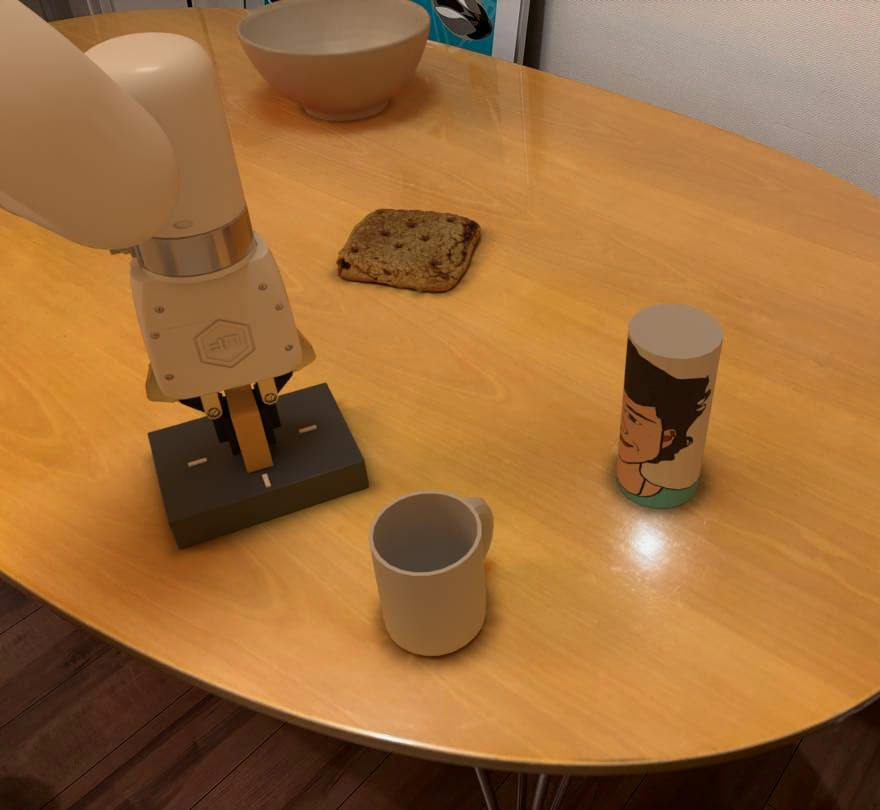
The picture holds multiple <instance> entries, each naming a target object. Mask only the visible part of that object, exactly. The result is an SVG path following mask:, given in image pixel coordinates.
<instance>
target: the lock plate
mask: <svg viewBox="0 0 880 810" xmlns="http://www.w3.org/2000/svg"><path fill="white" fill-rule="evenodd" d="M275 403H276V407H277V411H278V415H279V419H280V422H281V427H279V428H275V429H273V431H274V435H275V438H276V442H277V444H274V445H271V446H270V444H268V447H269V450H270V454H271V458H272V461H273V466H271V467H268V468H264V469H261V470H257V471H254V472H250V473H248V472H247V469H246V465H245V462H244V459H243V455H242V452H239V453H240V454H238V455H235V456H233V454H232V450H231V447H230V444H229V441H227V442H223V443H219V440H218V437H217V434H216V431H215V427H214V424H213V421H212V419H209V418H208V417H207V416H206V415H205V416H202V417H199V418H195V419H192V420H188V421H184V422H180V423H177V424H174V425H171V426H167V427H163V428H160V429H156V430H152V431H149V432H147V438H148V443H149V447H150V451H151V455H152V460H153V464H154V469H155V473H156V477H157V481H158V485H159V490H160V495H161V498H162V503H163V508H164V511H165V516H166V520H167V524H168V527H169V529H170V532H171V534H172V536H173V540H174V541H175V544H176V546H177V549H178V550H181V549H185V548H188V547H190V546H193V545H196V544H200V543H203V542H206V541H209V540H212V539H215V538H218V537H221V536H224V535H227V534H230V533H233V532H236V531H239V530H243V529H245V528H248V527H252V526H254V525H257V524H261V523H264V522H266V521H269V520H272V519H276V518H279V517H280V516H281V517H282V516H285V515H288V514H290V513H294V512H296V511H299V510H303V509H306V508H308V507H311V506H315V505H318V504H320V503H323V502H327V501H330V500H333V499H335V498H339V497H342V496H345V495H349V494H352V493H354V492H357V491H360V490H364V489H366V488H368V487H369V488H370V483H369V478H368V471H367V466H366V461H365V458H364V455H363V454H362V452H361V450H360V448H359V446H358V444H357V442H356V440H355V438H354V436H353V434H352V432H351V430H350V427H349V425H348V424H347V422H346V419H345V417H344V415H343V413H342V411H341V409H340V408H339V405H338V403H337V401H336V399H335V397H334V395H333V393H332V391H331V389H330V387H329V385H328V383H327V382H326V381H325V382H322V383H318V384H315V385H312V386H307V387H304V388H300V389H297V390H294V391H290V392H287V393H283V394H278V400H277V402H275Z"/></svg>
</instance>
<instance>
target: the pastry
mask: <svg viewBox="0 0 880 810" xmlns="http://www.w3.org/2000/svg"><path fill="white" fill-rule="evenodd" d="M481 229H482V228H481V226H480V223H478V222H477V221H475V220H473V219H471V218H468V217H467V216H462V215H459V214H457V213H451V212H439V211H435V210H425V211H424V210H421V209H403V208H401V209H396V208H377V209H375V210H374V211H371V212H369V213H368V214H366V215H365V216H364V217H363V219H362V220H361V221H359V222H358V223H357V224H355V225H354V226H353V228H352V230H351V232H350V234H349V236H348V238H347V241H346V242H345V244H344V245H343V247H342V248H341V249H340V250H338V253H337V254H338V258H337V260H336V261H335V262H336V265H337V270H336V271H337V275H338V276H340V277H341V278H342V279H345V280H348V281H353V282H362V283H372V282H374V283H375V284H383V285H389V286H390V287H396V288H399V289H412V290H414V291H417V293H418V294H421V293H423V292H437V293H438V292H445V291H446V292H447V291H448V290H450V289H451V288H453V287H454V286H455V285H456V284H457V283H458V282H459V280H460V278H461V276H462V275H464V273H465V272H466V271H467V268H468V266H469V264H470V262H471V257H472V253H473V251H474V249H475V245H476V244H477V243H478V240H479V239H480V237H481Z"/></svg>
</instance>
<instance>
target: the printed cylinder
mask: <svg viewBox="0 0 880 810" xmlns="http://www.w3.org/2000/svg"><path fill="white" fill-rule="evenodd" d="M629 320H630V321H629V322H628V328H627V339H626V340H627V341H626V350H625V352H626V353H625V365H624V375H623V376H624V377H623V387H622V388H623V389H622V401H621V413H620V424H619V425H620V426H619V437H618V448H617V449H618V450H617V462H616V473H615V474H616V477H615V480H616V484H617V486H618V488H619V490H620V492H622V494H623V495H624V496H625V497H626V498H627V499H629V500H630V501H632V502H634V503H635V504H637V505H639V506H643V507H647V508H649V509H663V510H665V509H666V510H667V509H671V508H677V507H679V506H681V505H684V504H685V503H687V502H689V501H690V500H691V498H693V496H694V495H695V494H696V492H697V489H698V488H699V487H698V486H699V482H700V476H701V470H702V465H703V457H704V453H705V447H706V443H707V442H706V441H707V436H708V430H709V423H710V417H711V412H712V405H713V400H714V393H715V389H716V383H717V378H718V377H717V376H718V372H719V371H718V370H719V365H720V359H721V353H722V346H723V341H724V331H723V327H722V326H721V323H720V322H719V321H718V320H717V318H715V317H714V316H712V315H711V314H710V313H709V312H707V311H705V310H703V309H700V308H698V307H696V306H691V305H687V304H683V303H668V302H666V303H660V304H659V303H658V304H652V305H650V306H646V307H645V308H642V309H640V310H639V311H638V312H636V313H634V314H633V315H632V317H631V319H629Z"/></svg>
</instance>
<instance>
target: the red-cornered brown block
mask: <svg viewBox="0 0 880 810" xmlns="http://www.w3.org/2000/svg"><path fill="white" fill-rule="evenodd" d="M252 389H253V388H252V384H248V385H244V386H240V387H236V388H232V389H228V390H224V391H223V393H224V396H226V400H227V404H228V408H229V411H230V415H231V419H232V422H233V426H234V429H235V432H236V436H237V439H238V442H239V445H240V449H241V452H242V455H243V459H244V462H245V465H246V469H247V472H248V473H250V472H254V471H257V470H261V469H264V468H268V467H271V466H273V461H272V458H271V454H270V450H269V447H268V443H267V439H266V436H265V432H264V428H263V425H262V421H261V417H260V414H259V410H258V407H257V404H256V401H255V397H254V394H253V391H252Z"/></svg>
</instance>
